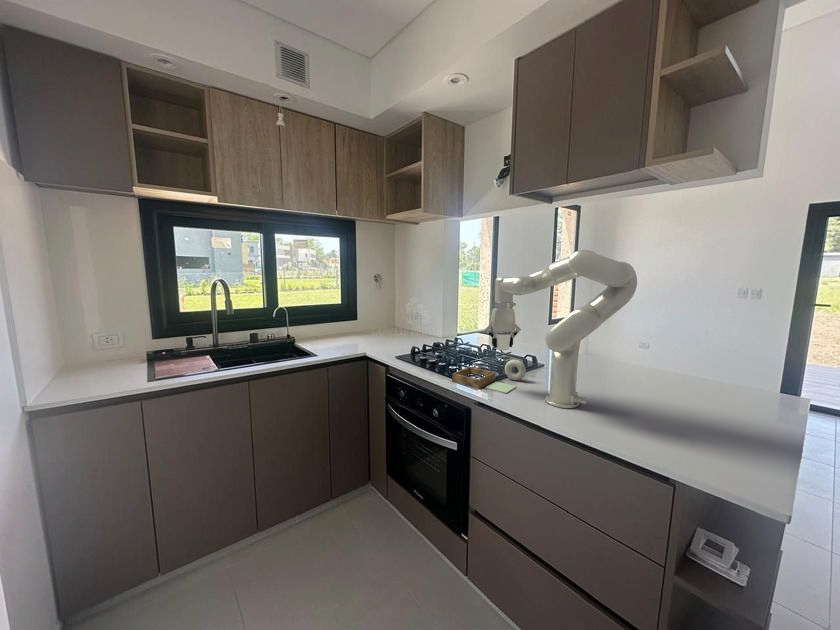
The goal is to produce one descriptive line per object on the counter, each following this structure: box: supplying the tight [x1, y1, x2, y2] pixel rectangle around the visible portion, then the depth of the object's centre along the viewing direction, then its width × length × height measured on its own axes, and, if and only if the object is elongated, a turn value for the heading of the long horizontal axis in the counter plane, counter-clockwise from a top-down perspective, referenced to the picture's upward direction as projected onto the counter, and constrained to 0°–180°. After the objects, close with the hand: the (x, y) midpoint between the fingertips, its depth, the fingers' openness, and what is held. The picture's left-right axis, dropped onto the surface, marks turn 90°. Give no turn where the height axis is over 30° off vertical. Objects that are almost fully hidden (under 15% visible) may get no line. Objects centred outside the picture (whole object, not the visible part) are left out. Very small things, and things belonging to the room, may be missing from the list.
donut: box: [504, 359, 527, 381], centre depth 160 cm, size 10×4×10 cm, turn 58°
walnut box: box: [451, 366, 496, 390], centre depth 159 cm, size 15×15×4 cm
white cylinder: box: [495, 332, 511, 351], centre depth 147 cm, size 7×7×7 cm
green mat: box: [484, 381, 517, 395], centre depth 150 cm, size 10×10×1 cm
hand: (502, 346), depth 147 cm, fingers closed on white cylinder, 6 cm apart
